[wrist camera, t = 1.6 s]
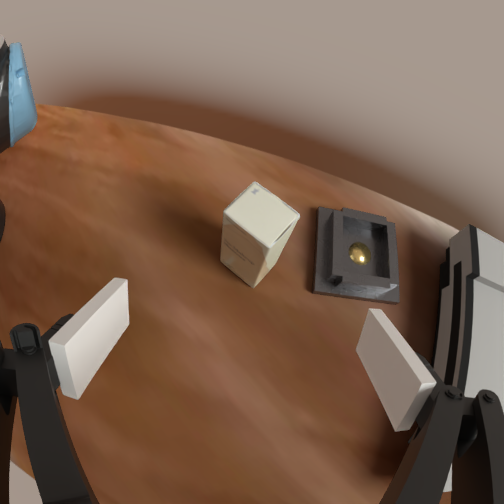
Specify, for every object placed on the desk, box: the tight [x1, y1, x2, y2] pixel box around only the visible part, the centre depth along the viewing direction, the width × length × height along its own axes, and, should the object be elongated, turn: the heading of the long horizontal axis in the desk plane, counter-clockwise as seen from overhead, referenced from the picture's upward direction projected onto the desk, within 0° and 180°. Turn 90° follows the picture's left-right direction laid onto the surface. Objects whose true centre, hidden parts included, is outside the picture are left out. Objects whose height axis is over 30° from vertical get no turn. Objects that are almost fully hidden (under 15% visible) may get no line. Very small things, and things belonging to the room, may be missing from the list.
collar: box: [312, 207, 399, 305], centre depth 35 cm, size 11×11×3 cm
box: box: [220, 182, 300, 288], centre depth 30 cm, size 5×4×11 cm
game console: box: [431, 224, 504, 492], centre depth 28 cm, size 21×32×8 cm, turn 162°
